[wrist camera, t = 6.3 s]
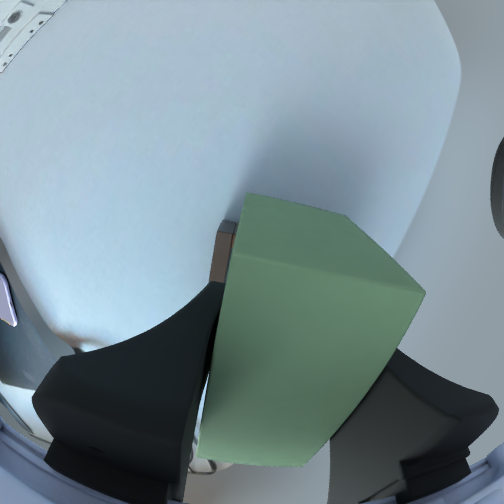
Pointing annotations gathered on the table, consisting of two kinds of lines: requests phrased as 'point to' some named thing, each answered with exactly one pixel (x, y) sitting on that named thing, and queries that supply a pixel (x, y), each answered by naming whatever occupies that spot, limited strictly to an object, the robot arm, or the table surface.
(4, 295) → the mobile phone
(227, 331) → the block
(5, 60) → the cassette
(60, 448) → the robot arm
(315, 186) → the table surface
